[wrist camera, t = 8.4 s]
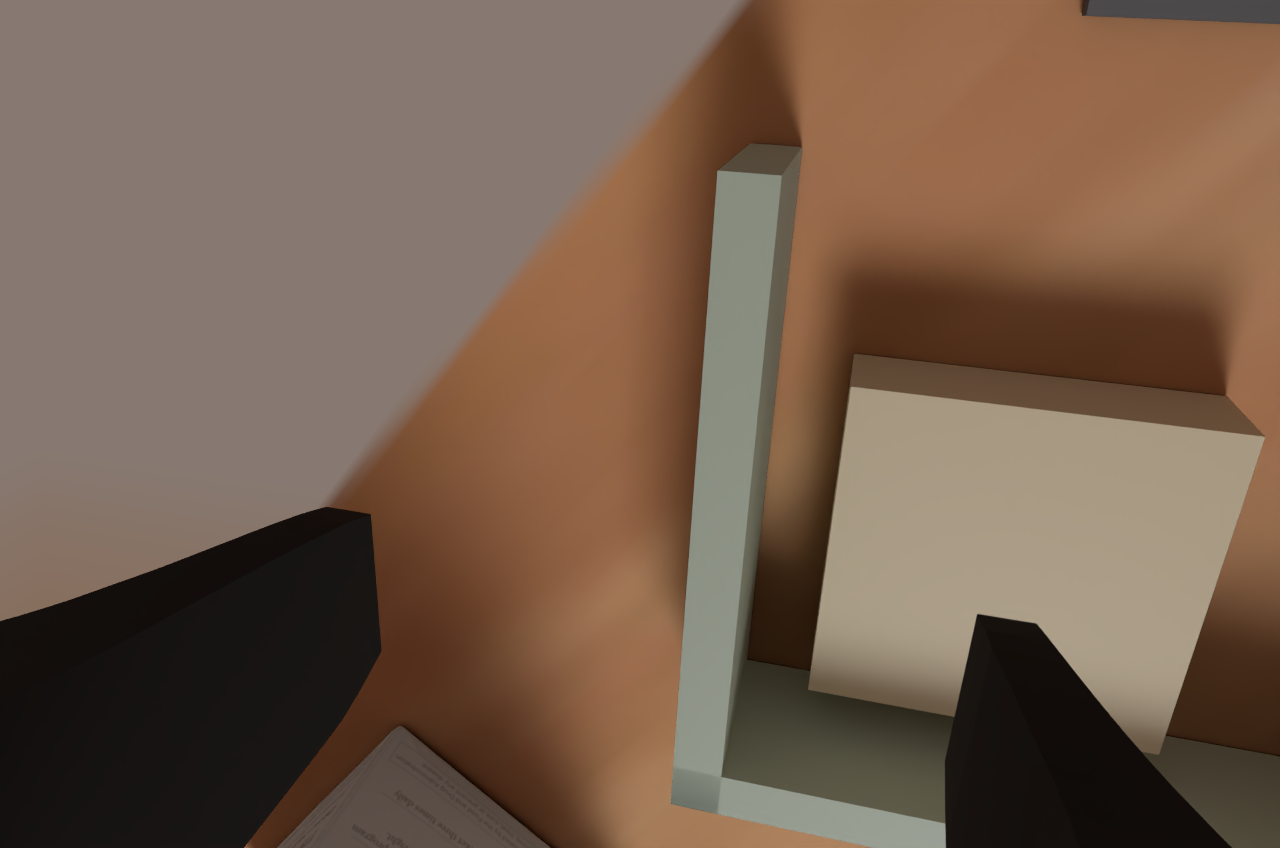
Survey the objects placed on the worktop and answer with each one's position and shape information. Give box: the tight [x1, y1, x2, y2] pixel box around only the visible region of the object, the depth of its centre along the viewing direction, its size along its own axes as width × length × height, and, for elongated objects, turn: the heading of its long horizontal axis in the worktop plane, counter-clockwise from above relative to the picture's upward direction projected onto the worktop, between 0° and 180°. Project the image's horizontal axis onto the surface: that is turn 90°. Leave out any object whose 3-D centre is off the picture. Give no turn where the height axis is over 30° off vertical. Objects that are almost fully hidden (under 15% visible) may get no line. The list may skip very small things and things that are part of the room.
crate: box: [671, 143, 1280, 848], centre depth 18 cm, size 15×13×4 cm
